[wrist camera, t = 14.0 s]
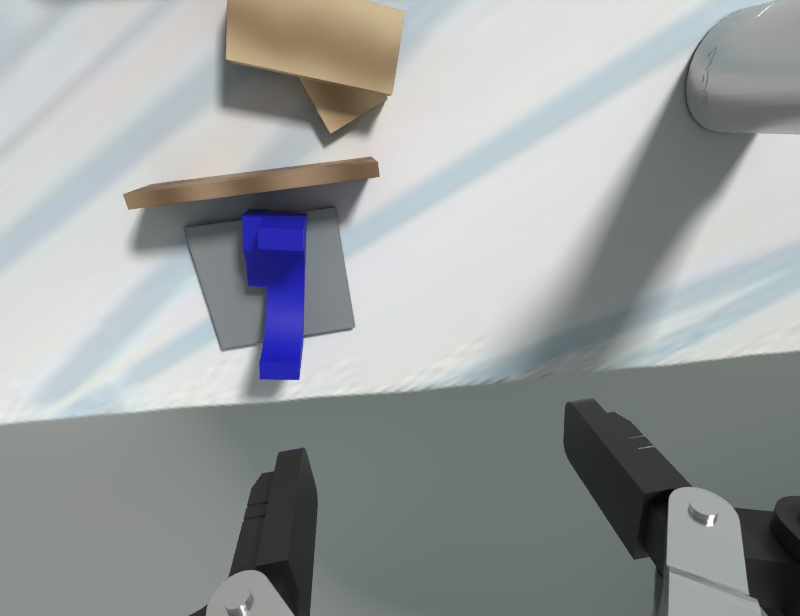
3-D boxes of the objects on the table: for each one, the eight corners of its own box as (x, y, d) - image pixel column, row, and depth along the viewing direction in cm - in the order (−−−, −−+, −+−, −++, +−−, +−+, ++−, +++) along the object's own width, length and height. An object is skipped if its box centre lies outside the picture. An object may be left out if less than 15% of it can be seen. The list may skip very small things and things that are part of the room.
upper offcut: (234, -25, 28) (228, -35, 26) (400, 17, 30) (405, 11, 28) (231, 62, 29) (225, 59, 28) (388, 96, 32) (392, 94, 30)
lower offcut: (305, -59, 29) (304, -71, 27) (384, 100, 34) (388, 99, 32) (243, -19, 29) (238, -28, 28) (330, 133, 34) (330, 133, 32)
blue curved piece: (249, 208, 34) (233, 225, 28) (307, 213, 35) (303, 230, 29) (252, 342, 38) (239, 379, 33) (303, 344, 39) (299, 379, 34)
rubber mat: (335, 206, 35) (335, 207, 35) (354, 324, 40) (355, 327, 39) (185, 226, 34) (183, 228, 34) (223, 345, 39) (222, 348, 38)
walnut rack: (335, -123, 27) (337, -172, 23) (372, 169, 35) (379, 176, 30) (53, -106, 26) (-5, -155, 21) (155, 197, 33) (128, 209, 29)
